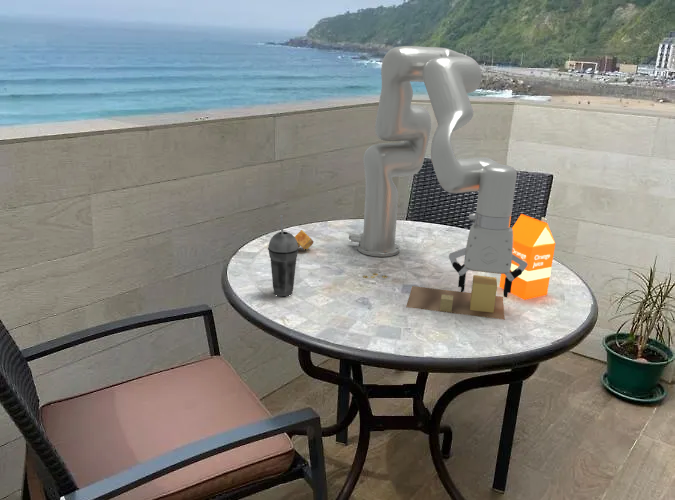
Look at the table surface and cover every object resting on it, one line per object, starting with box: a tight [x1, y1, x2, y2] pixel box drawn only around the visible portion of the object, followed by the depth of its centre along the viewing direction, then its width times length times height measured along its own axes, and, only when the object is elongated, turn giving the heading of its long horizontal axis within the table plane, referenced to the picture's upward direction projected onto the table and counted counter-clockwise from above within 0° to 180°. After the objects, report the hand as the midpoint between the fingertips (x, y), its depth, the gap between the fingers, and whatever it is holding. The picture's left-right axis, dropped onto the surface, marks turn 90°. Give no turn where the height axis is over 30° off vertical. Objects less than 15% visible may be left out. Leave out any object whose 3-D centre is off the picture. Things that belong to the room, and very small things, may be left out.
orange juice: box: [499, 213, 556, 301], centre depth 143 cm, size 8×9×20 cm
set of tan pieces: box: [362, 272, 388, 279], centre depth 152 cm, size 5×5×2 cm
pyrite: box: [294, 229, 315, 251], centre depth 172 cm, size 5×7×4 cm
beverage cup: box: [267, 214, 300, 297], centre depth 139 cm, size 7×7×20 cm
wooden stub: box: [439, 295, 453, 313], centre depth 134 cm, size 3×3×3 cm
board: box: [405, 285, 506, 321], centre depth 139 cm, size 22×13×1 cm, turn 77°
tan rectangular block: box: [470, 274, 498, 313], centre depth 135 cm, size 5×5×7 cm
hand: (483, 292), depth 135 cm, fingers open, 9 cm apart
